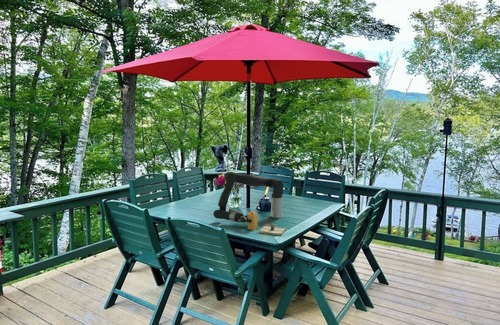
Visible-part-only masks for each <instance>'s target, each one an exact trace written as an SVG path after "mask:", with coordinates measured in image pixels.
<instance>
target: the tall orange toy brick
mask: <svg viewBox="0 0 500 325" xmlns="http://www.w3.org/2000/svg"><path fill="white" fill-rule="evenodd" d="M258 214H259V213H258V212H255V211H253V210H252V211H250V212H248V213H247V215H248V219H250V220H252V222H251V223H249V222H247V230H251V231H255V230H257V229H258V228H259V227H258V221H259V220H258Z"/></svg>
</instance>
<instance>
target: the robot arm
mask: <svg viewBox="0 0 500 325" xmlns="http://www.w3.org/2000/svg"><path fill="white" fill-rule="evenodd" d="M223 179H224V181H225V185H224V188H223V191H222V192H221V194H220V197H219V201H218V202H217V206H218V207H219V208H218V209H216V210H214V211H213V214H212V215H213V217H214V218H215V219H221V220H226V221H231V222H234V223H235V222H236V223H243V224H245V223H248V222H249V223H251V222H252V220H250V219H248V214H246V215H245V214H243V212H242V213H238V212H230V211H229V210H227V205H228V203H229V198H230V196H231V192H232V189H233V188H234V186H235V184H236V183H237V184H241V185H245V186H249V187H257V188H259V187H267V188H271V189H272V191H273V192H272V193H271V203H270V204H271V206H270V207H271V210H270V212H271V213H270V214H271V218H275V219H280V218H282V216H283V194H284V182H283V181H282V180H281V179H279V178H271V177H264V176H260V175H253V174H239V173H236V172H234V171H227V172H225V173H224V175H223Z"/></svg>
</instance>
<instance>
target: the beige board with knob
mask: <svg viewBox="0 0 500 325" xmlns="http://www.w3.org/2000/svg"><path fill="white" fill-rule="evenodd" d="M270 225H271V226H268V225H267V226H266V225H264V226H262V228H260V229H259V230H258V234H261V233H262V234H261V235H264V234H265V235H270V236H279V237H280V236H281V237H282V236H283V235H284V233H285V232H286V231H287V228H285V227H277V226H275V224H273V223H271V224H270Z"/></svg>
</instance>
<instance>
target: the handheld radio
mask: <svg viewBox="0 0 500 325" xmlns="http://www.w3.org/2000/svg"><path fill="white" fill-rule="evenodd" d="M228 211H230V212H238V213H243V212H242V211H239V210H237V209H234V208H231V207H228Z"/></svg>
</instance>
